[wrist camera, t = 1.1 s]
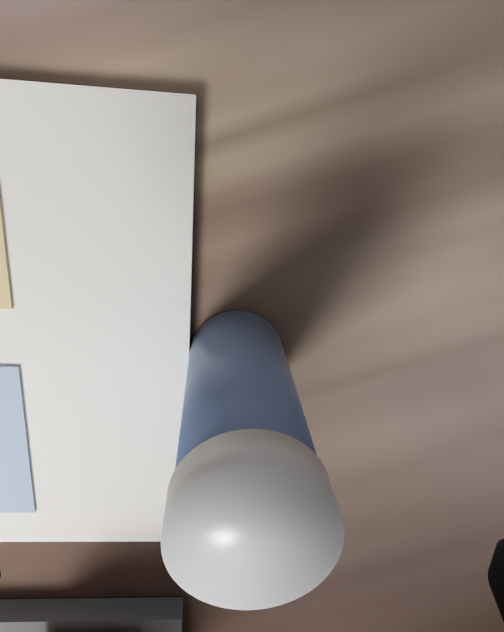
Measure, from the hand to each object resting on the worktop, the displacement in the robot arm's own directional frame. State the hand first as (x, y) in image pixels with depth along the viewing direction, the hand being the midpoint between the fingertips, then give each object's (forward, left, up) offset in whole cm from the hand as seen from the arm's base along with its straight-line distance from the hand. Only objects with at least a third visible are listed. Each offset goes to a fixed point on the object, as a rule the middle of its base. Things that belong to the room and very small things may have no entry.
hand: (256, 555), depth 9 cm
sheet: (+9, 0, -9) cm, 12 cm away
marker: (0, 0, -9) cm, 9 cm away
